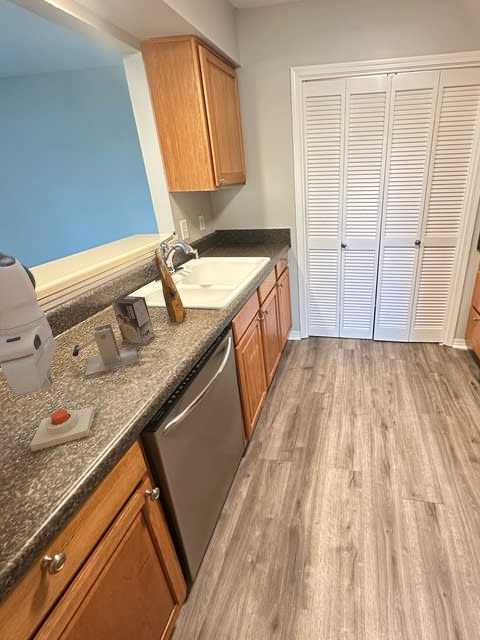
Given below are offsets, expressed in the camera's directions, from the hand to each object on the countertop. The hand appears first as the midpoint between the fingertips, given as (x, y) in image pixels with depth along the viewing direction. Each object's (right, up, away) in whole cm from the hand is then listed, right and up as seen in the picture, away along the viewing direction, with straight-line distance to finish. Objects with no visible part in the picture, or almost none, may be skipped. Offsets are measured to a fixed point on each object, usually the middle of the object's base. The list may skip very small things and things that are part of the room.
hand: (48, 387), depth 72 cm
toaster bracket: (-3, 0, +31) cm, 32 cm away
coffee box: (-2, +5, +45) cm, 45 cm away
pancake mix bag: (+5, +13, +62) cm, 63 cm away
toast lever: (-7, +6, +27) cm, 28 cm away
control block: (0, -12, +5) cm, 13 cm away
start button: (0, -9, +4) cm, 10 cm away
